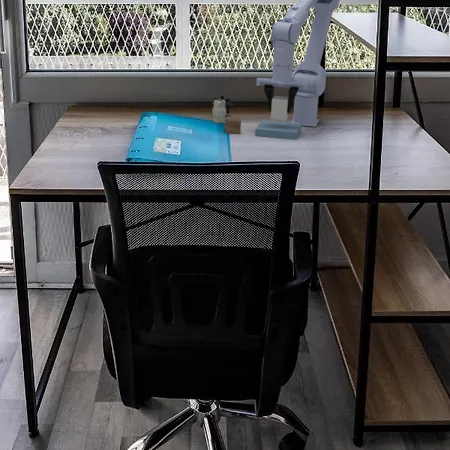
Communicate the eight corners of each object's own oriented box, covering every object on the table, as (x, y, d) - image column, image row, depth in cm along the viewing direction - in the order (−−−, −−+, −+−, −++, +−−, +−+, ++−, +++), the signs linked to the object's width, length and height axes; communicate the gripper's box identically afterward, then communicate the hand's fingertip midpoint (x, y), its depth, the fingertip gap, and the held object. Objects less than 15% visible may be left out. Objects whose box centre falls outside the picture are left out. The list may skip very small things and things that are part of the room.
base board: (261, 126, 250) (261, 120, 249) (300, 130, 248) (301, 123, 247) (254, 135, 239) (255, 129, 238) (296, 139, 237) (296, 132, 236)
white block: (272, 116, 244) (274, 95, 242) (287, 117, 243) (289, 97, 241) (270, 119, 240) (272, 98, 238) (286, 120, 239) (287, 100, 237)
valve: (228, 124, 252) (232, 115, 263) (229, 102, 250) (233, 95, 261) (207, 122, 253) (211, 114, 264) (208, 101, 250) (212, 94, 262)
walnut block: (224, 130, 243) (225, 117, 242) (238, 130, 244) (238, 117, 243) (226, 134, 240) (227, 120, 238) (240, 134, 240) (241, 120, 239)
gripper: (255, 64, 234) (253, 112, 239) (306, 68, 232) (303, 116, 236) (259, 61, 241) (256, 107, 245) (309, 65, 238) (305, 111, 243)
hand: (279, 111), depth 241 cm, fingers closed on white block, 4 cm apart
